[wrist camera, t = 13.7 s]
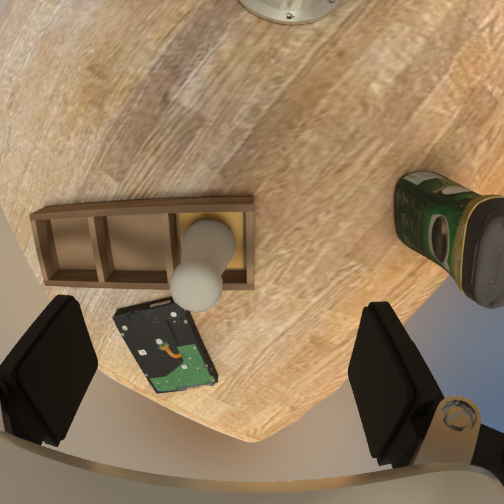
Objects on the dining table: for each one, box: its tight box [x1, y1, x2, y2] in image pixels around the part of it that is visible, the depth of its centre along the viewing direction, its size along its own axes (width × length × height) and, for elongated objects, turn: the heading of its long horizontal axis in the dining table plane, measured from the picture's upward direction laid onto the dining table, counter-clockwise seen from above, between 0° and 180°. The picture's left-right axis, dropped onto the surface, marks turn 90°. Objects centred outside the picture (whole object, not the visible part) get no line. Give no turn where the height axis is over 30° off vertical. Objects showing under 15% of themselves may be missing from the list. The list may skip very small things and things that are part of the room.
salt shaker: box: [170, 219, 236, 312], centre depth 30 cm, size 6×6×13 cm
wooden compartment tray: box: [30, 196, 254, 290], centre depth 35 cm, size 10×27×4 cm, turn 90°
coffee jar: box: [396, 172, 504, 309], centre depth 27 cm, size 10×8×19 cm
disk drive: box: [113, 297, 218, 393], centre depth 42 cm, size 10×3×15 cm
